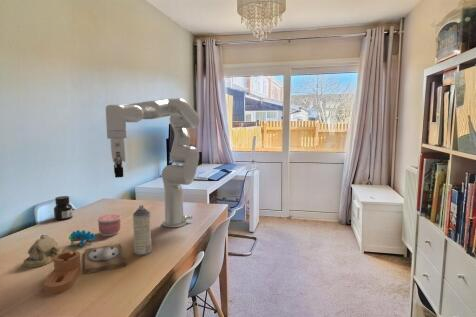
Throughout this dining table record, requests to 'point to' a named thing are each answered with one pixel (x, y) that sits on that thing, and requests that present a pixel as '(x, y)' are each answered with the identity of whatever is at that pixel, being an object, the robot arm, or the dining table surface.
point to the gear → (81, 237)
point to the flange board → (104, 258)
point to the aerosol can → (142, 231)
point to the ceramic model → (42, 252)
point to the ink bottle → (62, 208)
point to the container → (109, 224)
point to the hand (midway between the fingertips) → (118, 175)
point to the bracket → (63, 272)
